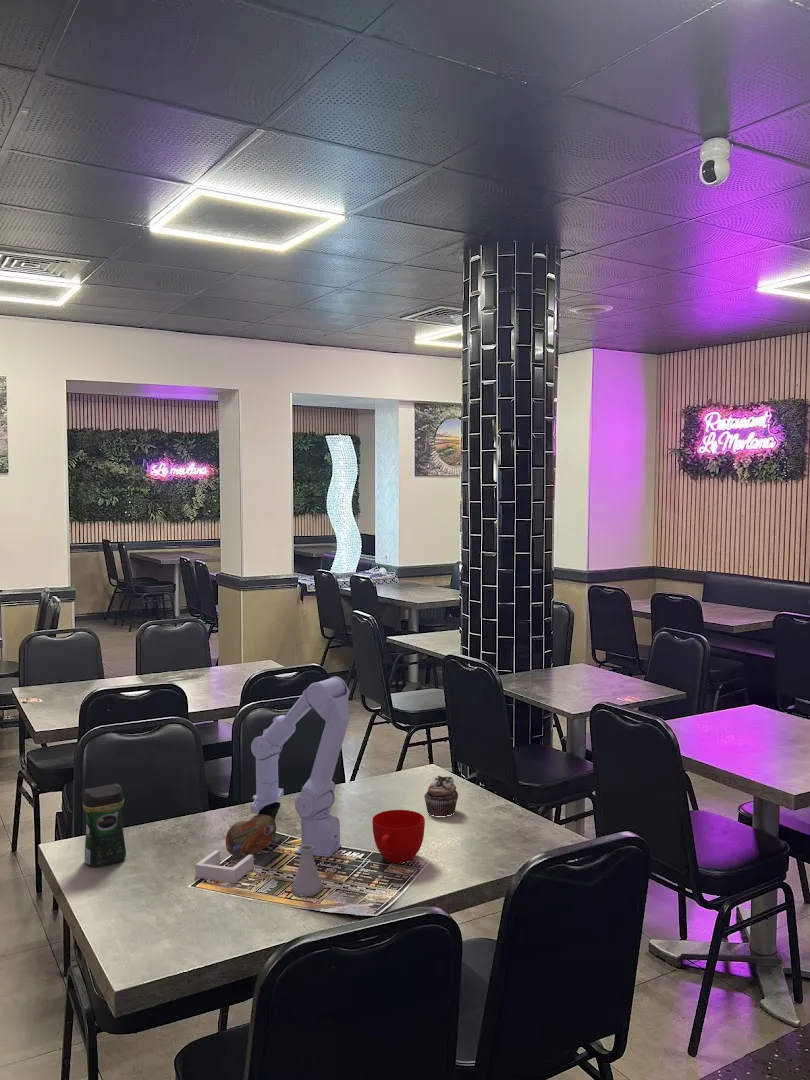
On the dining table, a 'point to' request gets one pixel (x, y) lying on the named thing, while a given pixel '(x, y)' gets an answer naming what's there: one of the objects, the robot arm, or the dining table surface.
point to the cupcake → (441, 797)
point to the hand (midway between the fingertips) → (268, 831)
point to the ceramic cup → (398, 834)
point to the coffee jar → (104, 825)
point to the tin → (250, 835)
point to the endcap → (222, 868)
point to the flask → (307, 874)
